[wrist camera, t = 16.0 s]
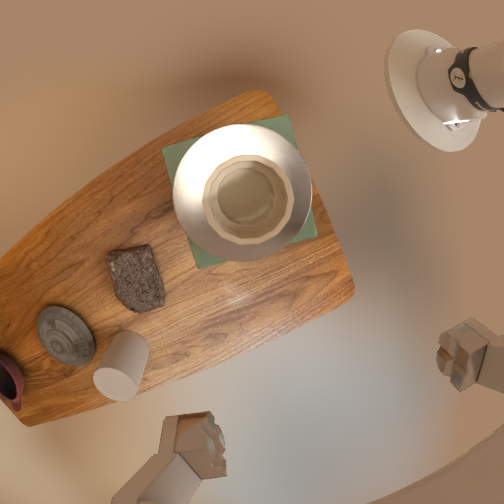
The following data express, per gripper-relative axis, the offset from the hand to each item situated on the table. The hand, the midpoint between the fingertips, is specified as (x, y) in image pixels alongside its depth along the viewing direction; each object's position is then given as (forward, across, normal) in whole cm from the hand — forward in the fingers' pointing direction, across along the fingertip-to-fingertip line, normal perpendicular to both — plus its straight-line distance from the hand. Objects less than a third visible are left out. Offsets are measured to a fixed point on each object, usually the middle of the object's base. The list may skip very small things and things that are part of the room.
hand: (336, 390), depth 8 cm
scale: (+41, +1, -5) cm, 42 cm away
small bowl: (+18, +1, -5) cm, 19 cm away
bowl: (+42, +70, +23) cm, 85 cm away
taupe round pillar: (+41, +29, +21) cm, 55 cm away
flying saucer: (+42, +44, +15) cm, 62 cm away
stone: (+41, +22, +6) cm, 47 cm away
